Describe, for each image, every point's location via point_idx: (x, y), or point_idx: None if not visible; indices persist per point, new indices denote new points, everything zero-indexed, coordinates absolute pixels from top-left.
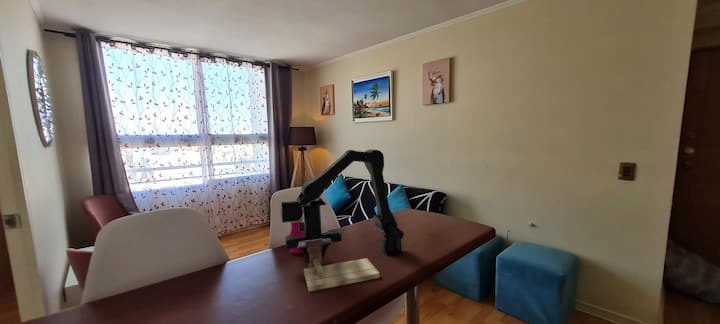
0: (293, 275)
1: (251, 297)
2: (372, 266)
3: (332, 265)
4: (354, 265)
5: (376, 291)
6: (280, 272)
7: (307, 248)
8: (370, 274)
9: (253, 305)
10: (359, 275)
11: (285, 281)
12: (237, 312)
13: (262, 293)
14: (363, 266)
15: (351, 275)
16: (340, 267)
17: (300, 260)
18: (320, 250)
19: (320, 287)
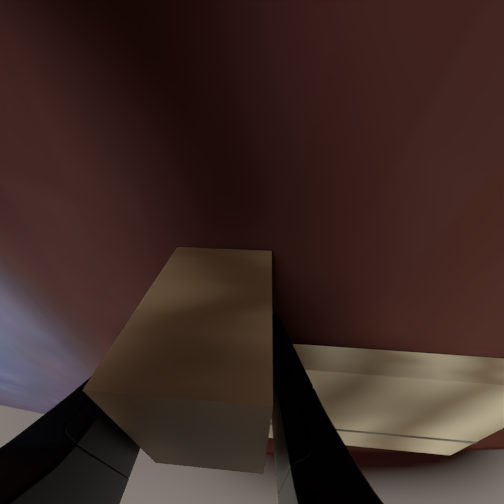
0: (114, 330)
1: (21, 381)
2: (483, 434)
3: (320, 380)
4: (422, 411)
5: (369, 450)
6: (19, 282)
7: (93, 400)
8: (414, 451)
9: (55, 402)
10: (375, 444)
11: (95, 354)
12: (31, 406)
13: (45, 378)
14: (449, 425)
15: (350, 438)
16: (347, 401)
17: (90, 138)
18: (264, 460)
19: None
